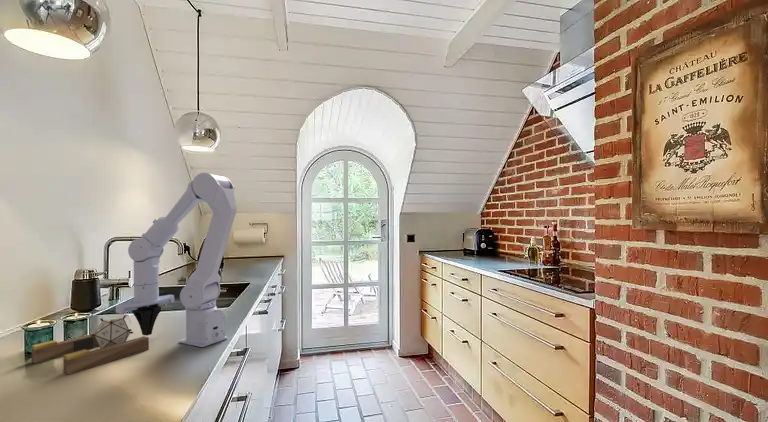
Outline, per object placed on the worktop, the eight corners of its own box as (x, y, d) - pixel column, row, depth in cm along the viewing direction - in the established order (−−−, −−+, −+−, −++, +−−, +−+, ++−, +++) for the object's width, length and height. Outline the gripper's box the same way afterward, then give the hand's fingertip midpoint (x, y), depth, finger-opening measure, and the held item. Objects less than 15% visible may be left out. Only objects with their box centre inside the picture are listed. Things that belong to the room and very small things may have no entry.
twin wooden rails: (148, 349, 98) (148, 334, 98) (68, 374, 83) (68, 356, 83) (111, 340, 106) (111, 326, 106) (31, 362, 91) (31, 345, 91)
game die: (115, 366, 97) (112, 340, 92) (83, 354, 97) (79, 328, 92) (142, 338, 105) (140, 313, 99) (112, 327, 105) (109, 301, 100)
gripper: (163, 278, 114) (163, 325, 114) (108, 287, 101) (109, 340, 101) (178, 280, 111) (179, 328, 111) (124, 289, 98) (125, 344, 98)
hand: (146, 334), depth 106 cm, fingers closed
